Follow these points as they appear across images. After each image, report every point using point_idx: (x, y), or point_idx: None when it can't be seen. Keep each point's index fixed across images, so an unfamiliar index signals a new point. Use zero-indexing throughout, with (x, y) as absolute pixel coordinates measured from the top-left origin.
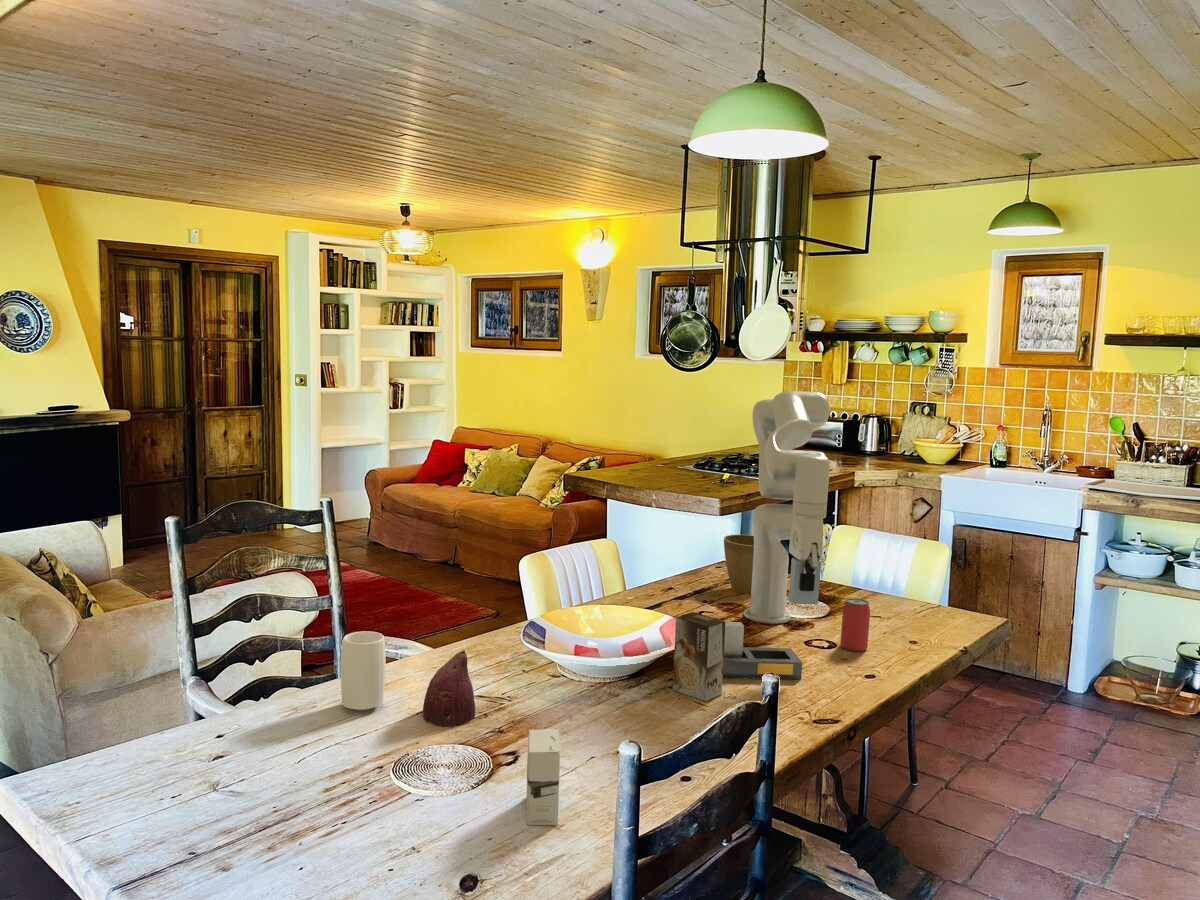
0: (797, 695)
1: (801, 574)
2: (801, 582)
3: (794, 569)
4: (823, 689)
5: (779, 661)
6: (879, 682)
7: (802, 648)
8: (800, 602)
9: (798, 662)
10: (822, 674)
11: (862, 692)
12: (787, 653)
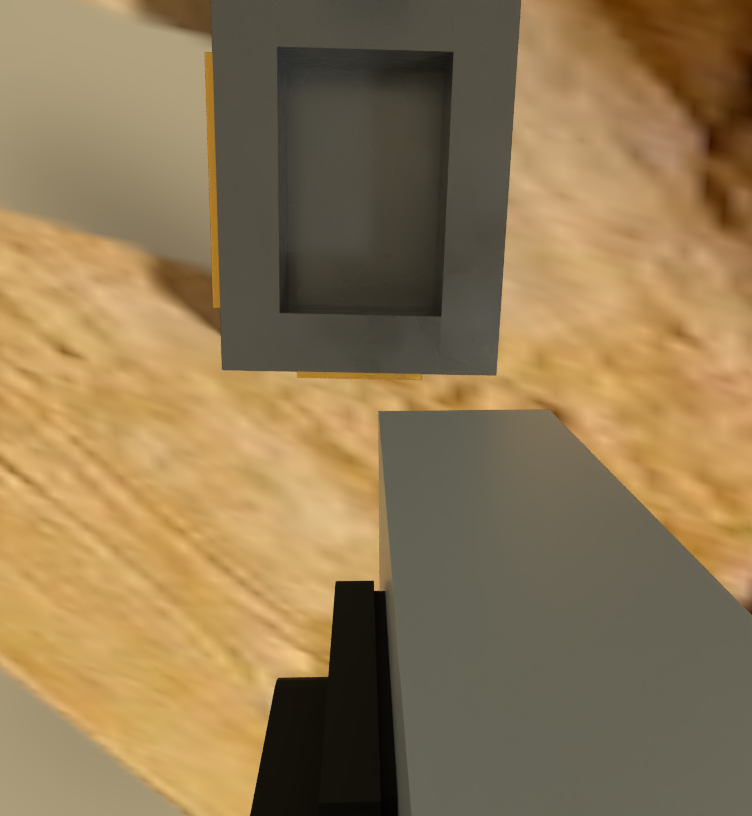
0: (3, 258)
1: (322, 791)
2: (330, 670)
3: (466, 718)
4: (111, 430)
5: (229, 217)
6: (237, 730)
7: (746, 512)
8: (379, 520)
9: (221, 345)
10: (333, 494)
11: (93, 609)
12: (392, 322)
